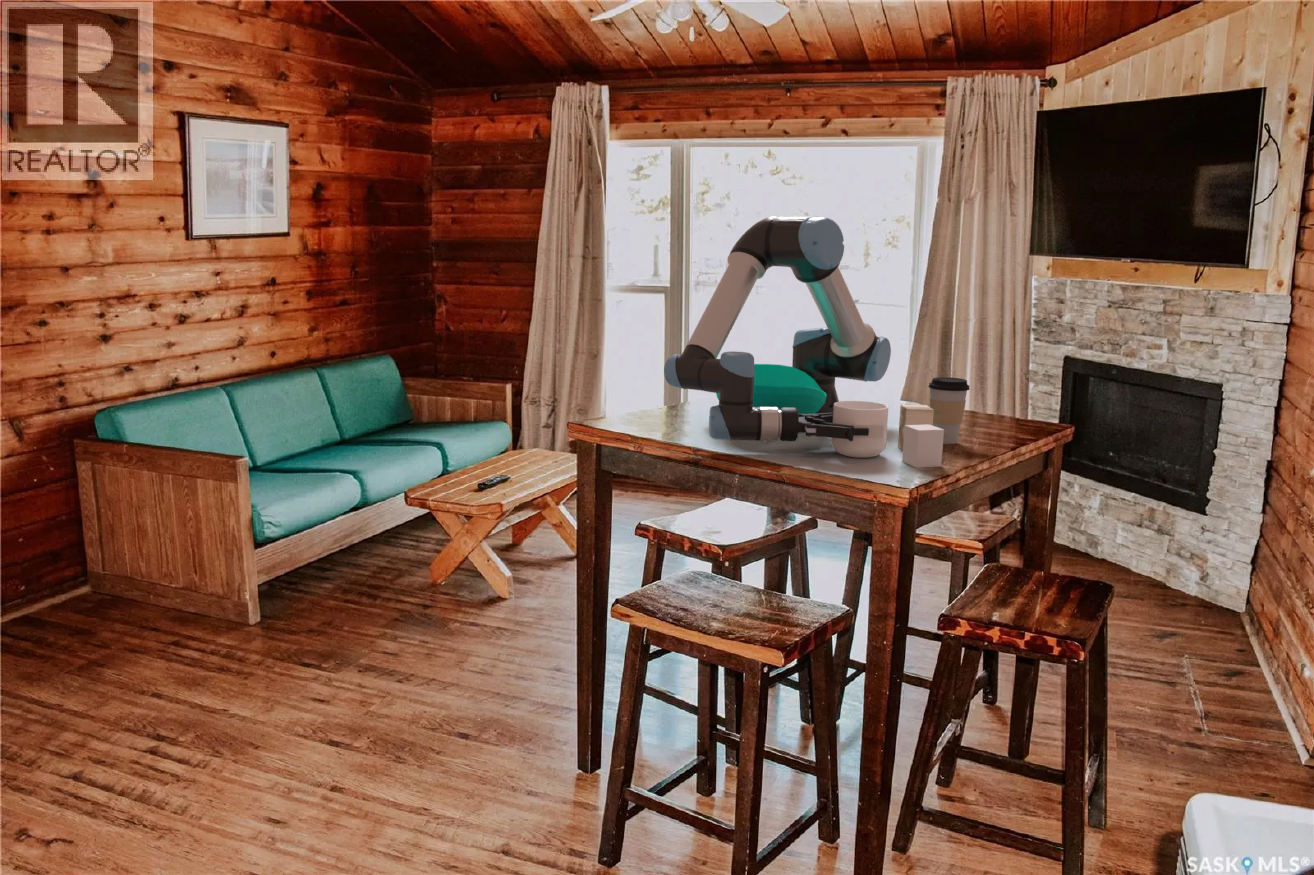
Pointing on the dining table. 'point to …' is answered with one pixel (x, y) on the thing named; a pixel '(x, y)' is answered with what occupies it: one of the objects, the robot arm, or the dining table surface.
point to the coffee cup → (948, 405)
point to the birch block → (913, 418)
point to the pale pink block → (923, 445)
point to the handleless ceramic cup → (860, 416)
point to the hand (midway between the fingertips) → (876, 426)
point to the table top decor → (786, 389)
